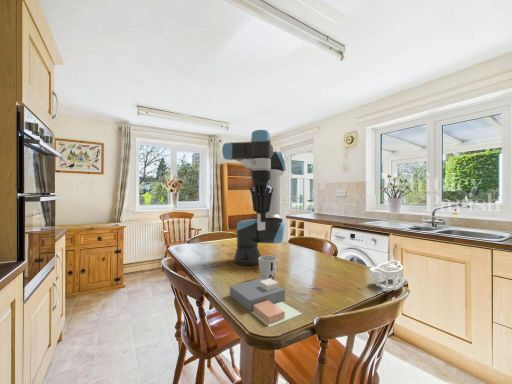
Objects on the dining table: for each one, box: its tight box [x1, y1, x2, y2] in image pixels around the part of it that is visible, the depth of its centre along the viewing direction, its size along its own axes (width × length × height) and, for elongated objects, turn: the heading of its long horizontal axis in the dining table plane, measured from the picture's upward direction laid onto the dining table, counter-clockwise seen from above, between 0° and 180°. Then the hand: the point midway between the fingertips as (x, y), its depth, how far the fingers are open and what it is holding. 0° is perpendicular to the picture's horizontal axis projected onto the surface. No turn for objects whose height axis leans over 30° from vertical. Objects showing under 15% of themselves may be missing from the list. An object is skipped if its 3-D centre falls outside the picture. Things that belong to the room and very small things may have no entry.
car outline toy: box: [369, 260, 404, 291], centre depth 102 cm, size 20×11×7 cm, turn 126°
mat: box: [250, 301, 303, 328], centre depth 76 cm, size 10×13×1 cm
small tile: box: [259, 278, 279, 291], centre depth 87 cm, size 5×5×2 cm
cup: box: [258, 255, 278, 281], centre depth 104 cm, size 8×8×10 cm
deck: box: [229, 277, 286, 313], centre depth 87 cm, size 14×15×4 cm
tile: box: [252, 300, 285, 324], centre depth 75 cm, size 9×6×2 cm, turn 32°
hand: (261, 229), depth 93 cm, fingers closed
